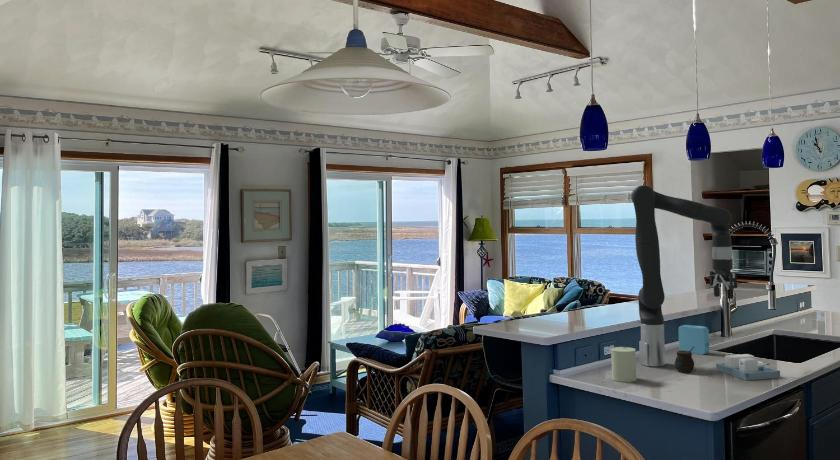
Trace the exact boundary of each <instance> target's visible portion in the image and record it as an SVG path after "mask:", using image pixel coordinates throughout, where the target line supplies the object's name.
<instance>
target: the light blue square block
mask: <svg viewBox="0 0 840 460" xmlns="http://www.w3.org/2000/svg"><path fill="white" fill-rule="evenodd" d="M693 346H694V348H693ZM692 348H693V349H692ZM678 349H679V350H678V351H680V350H685V351H690V350H691V349H692V351H691V352H692V354H696V355H702V356H703V355H706V354H708V353H709V352H710V330H709V328H708V327H707V326H703V325H691V324H683V325H680V326H679V327H678Z"/></svg>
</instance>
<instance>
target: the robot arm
mask: <svg viewBox="0 0 840 460" xmlns="http://www.w3.org/2000/svg"><path fill="white" fill-rule="evenodd" d="M630 199H631V202H632V203H633V208H634V212H635V213H634V214H635V221H636V222H635V235H634V236H635V239H634V240H635V251H636V252H635V253H636V258H637V262H638V265H639V268H640V271H641V276H642V287H641V288H640V289H639V292H638V297H637V298H638V314H639V318H640V319H639V321H640V340H639V342H638V345H639V346H638V348H639V349H638V350H639V364H641V365H643V366H646V367H663V366H666V347H665V345H666V344H665V319H664V315H663V312H662V311H663V310H662V305H663V304H664V302H665V297H666V296H665V291H664V290H665V289H664V288H663V282H662V275H661V257H660V256H661V255H660V253H661V249H660V240H659V234H658V233H659V232H658V227H657V224H656V218H655V217H656V216H655V209H657V210H661V211H662V210H663V211H666V212H669V213H673V214H676V215H678V216H681V217H685V218H688V219H691V220H696V221H702V222H706V223H709V224H710V227H711V229H710V230H711V236H712V238H711V239H712V242H711V243H712V246H711V247H712V251H711V261H712V263H711V264H712V267H711V268H712V270H711V271H709V285H710V286H712V288H713V296H714V297H720V295H721V293H720V292H721V291H720V290H721V287H720V286H721V284H723V285H724V286H725V288H726V299H728V300H733V299H734V289H738V277H737V273H736V272H732V273H731V270H733V269H734V266H733V265H734V261H733V258H734V257H733V248H732V235H731V233H730V224H731V222H732V220H733V215H732V213H731V212H730V211H729V210H728V209H725V208H721V207H717V206H712V205H708V204H707V205H706V204H704V203H701V202H697V201H693V200H689V199H685V198H680V197H673V196H669V195H665V194H663V193H660V192H658V191H656V190H654V189H653V188H652V187H650V186H648V185H644V184H641V185H638V186H637V187H635V188H634V189H633V190H632V192H631V194H630Z"/></svg>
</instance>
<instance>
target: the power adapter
mask: <svg viewBox="0 0 840 460" xmlns="http://www.w3.org/2000/svg"><path fill="white" fill-rule="evenodd" d="M770 364H771V363H770V362H765V361H760V360H758V359H757V358H755V357H754V358H741V359H739V370H740V371H743V372H746V373H750V372H758V368H760V367H766V366H770Z"/></svg>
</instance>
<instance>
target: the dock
mask: <svg viewBox="0 0 840 460" xmlns="http://www.w3.org/2000/svg"><path fill="white" fill-rule="evenodd" d="M741 358H754V359H755V355H752V354H749V353H743V354H733V355H732V354H730V355H724V362H718V363H715V369H716V371H719V372H721V373H725V374H727V375H731V376H734V377H737V378H739V379H742V380H745V381H753V380H764V379H765V380H766V379H767V380H768V379H777V378H781V371H780V370H778V369H775V368H773V367H768V366H765V367H760V368H758V372H750V373H746V372H743V371H740V370H739V359H741Z"/></svg>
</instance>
